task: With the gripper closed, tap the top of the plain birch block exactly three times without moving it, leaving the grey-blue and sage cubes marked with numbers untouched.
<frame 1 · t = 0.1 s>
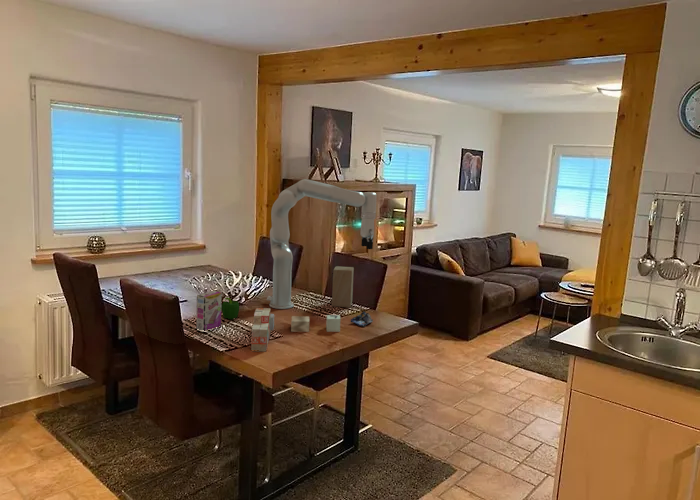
hand: (366, 247, 289), 31 cm above the table, tool pointing down, fingers open, 9 cm apart
bell pepper: (230, 318, 257), on the table
stack of blocks: (261, 343, 225), on the table
sage numbered cube: (333, 329, 247), on the table
snack package: (363, 324, 259), on the table
candy bar box: (209, 329, 239), on the table
wooden block: (342, 305, 291), on the table
grey-blue numbered cube: (266, 328, 245), on the table
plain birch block: (300, 329, 246), on the table
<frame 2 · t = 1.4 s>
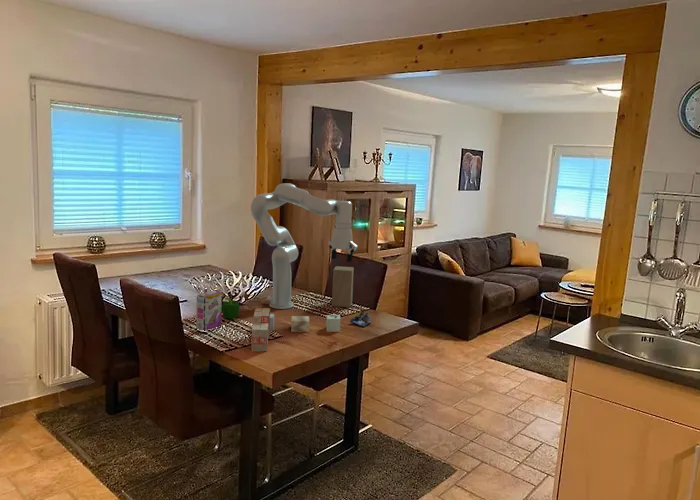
hand: (341, 260, 269), 28 cm above the table, tool pointing down, fingers open, 9 cm apart
nothing on the table moved.
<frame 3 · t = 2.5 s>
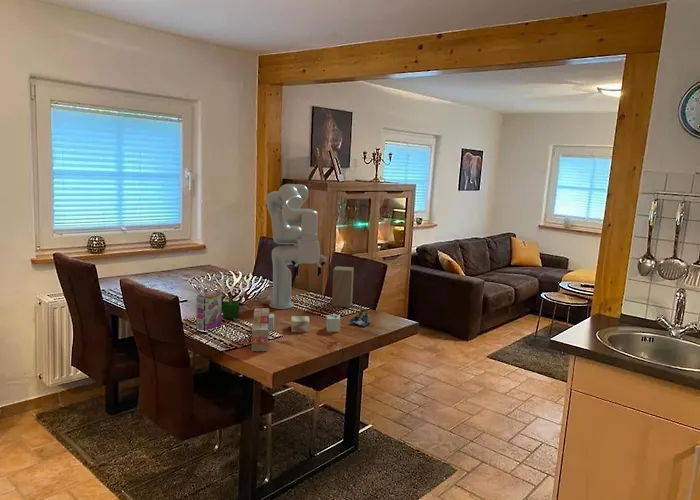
hand: (307, 275, 245), 24 cm above the table, tool pointing down, fingers open, 9 cm apart
nothing on the table moved.
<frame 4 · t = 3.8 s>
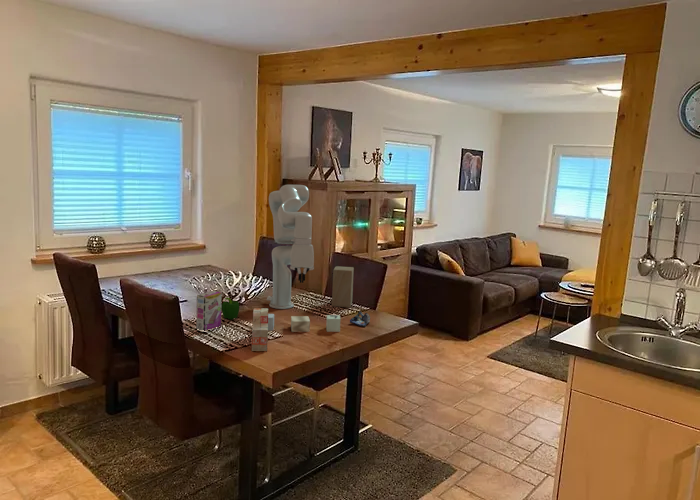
hand: (301, 282, 242), 22 cm above the table, tool pointing down, fingers closed
nothing on the table moved.
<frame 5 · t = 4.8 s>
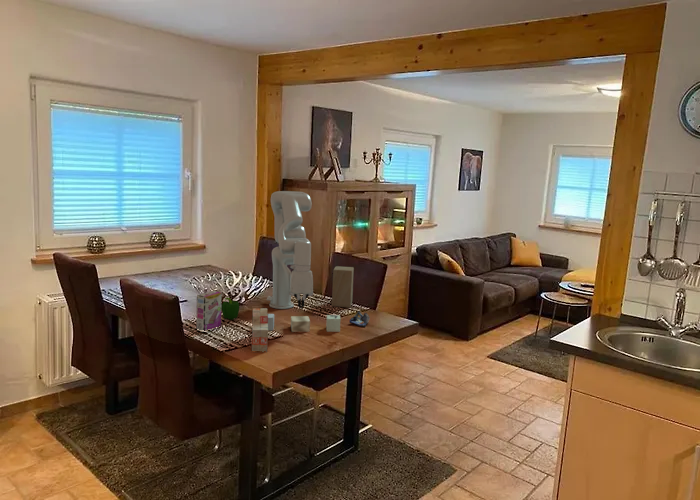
hand: (301, 308, 244), 10 cm above the table, tool pointing down, fingers closed
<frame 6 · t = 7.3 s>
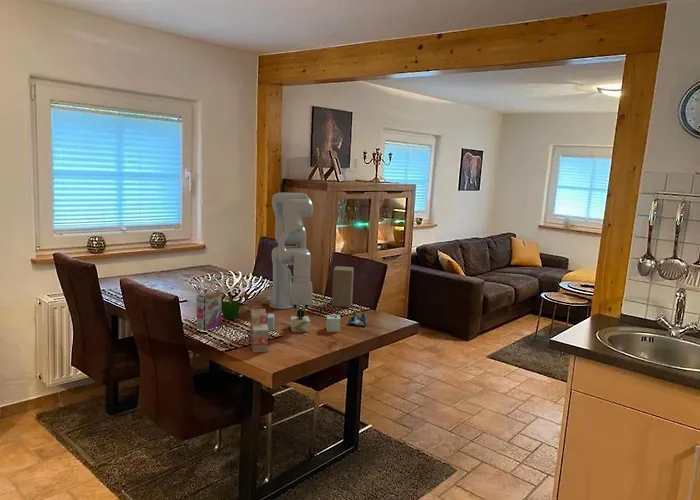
hand: (300, 318, 245), 5 cm above the table, tool pointing down, fingers closed
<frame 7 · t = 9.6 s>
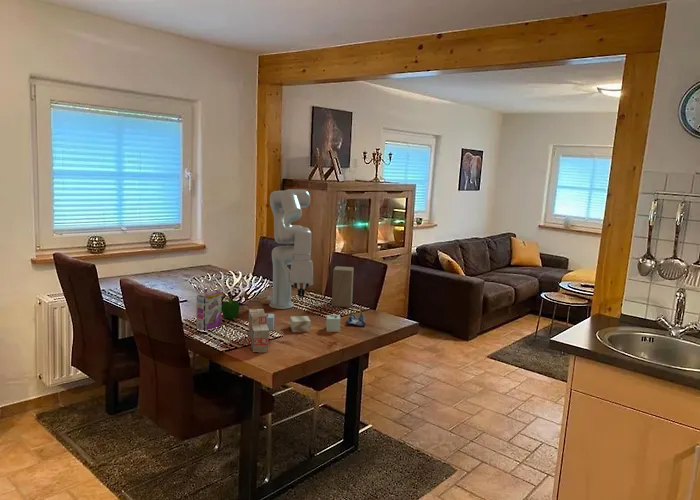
hand: (301, 297, 244), 15 cm above the table, tool pointing down, fingers closed
snack package: (357, 324, 258), on the table
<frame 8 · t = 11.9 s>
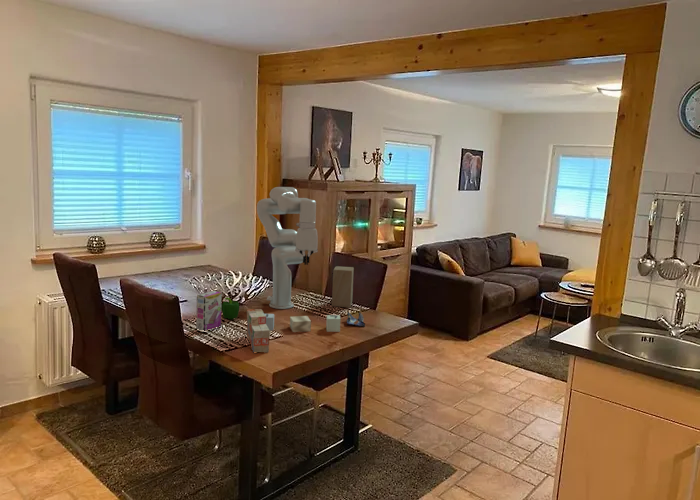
hand: (306, 264, 256), 27 cm above the table, tool pointing down, fingers closed
at the end: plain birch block moved 0.3 cm from its start; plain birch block tilted 0°; the gripper is holding nothing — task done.
